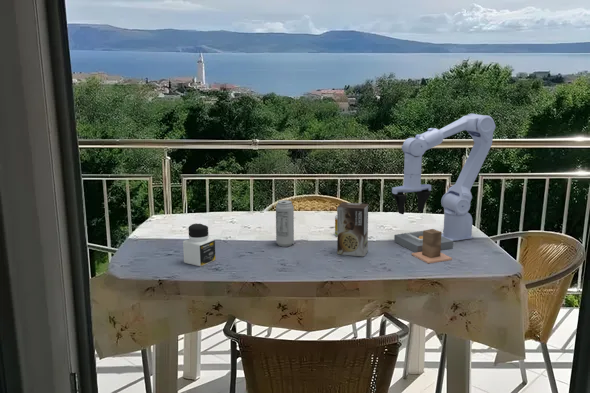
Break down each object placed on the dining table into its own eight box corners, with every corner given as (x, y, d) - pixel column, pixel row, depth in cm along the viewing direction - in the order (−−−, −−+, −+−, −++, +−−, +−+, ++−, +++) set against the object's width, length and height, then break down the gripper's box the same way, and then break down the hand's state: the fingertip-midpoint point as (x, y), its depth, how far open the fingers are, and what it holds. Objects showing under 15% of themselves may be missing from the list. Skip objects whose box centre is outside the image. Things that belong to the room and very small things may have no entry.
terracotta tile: (434, 251, 187) (434, 249, 187) (452, 259, 179) (452, 258, 179) (411, 254, 184) (411, 253, 184) (428, 263, 176) (428, 261, 176)
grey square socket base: (427, 237, 203) (428, 227, 202) (452, 248, 190) (453, 238, 190) (394, 241, 198) (394, 231, 197) (417, 253, 185) (417, 243, 184)
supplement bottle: (348, 237, 203) (349, 211, 200) (333, 237, 204) (334, 210, 201) (350, 233, 208) (351, 207, 206) (335, 232, 209) (336, 207, 207)
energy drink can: (297, 244, 195) (297, 201, 192) (285, 248, 191) (284, 204, 188) (284, 240, 199) (284, 199, 196) (272, 244, 195) (272, 202, 192)
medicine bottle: (200, 267, 174) (199, 229, 171) (183, 262, 177) (181, 225, 175) (216, 260, 180) (214, 223, 177) (198, 256, 183) (197, 220, 181)
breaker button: (424, 242, 196) (424, 235, 195) (429, 244, 193) (429, 237, 193) (416, 243, 195) (416, 236, 194) (421, 245, 192) (422, 238, 192)
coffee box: (368, 251, 188) (369, 203, 184) (363, 257, 182) (365, 208, 178) (341, 248, 191) (341, 201, 187) (336, 254, 185) (336, 206, 181)
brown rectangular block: (431, 252, 184) (432, 228, 182) (440, 256, 181) (441, 231, 179) (422, 254, 182) (423, 230, 180) (430, 258, 179) (432, 233, 177)
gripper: (423, 170, 199) (421, 207, 202) (387, 173, 193) (386, 211, 196) (435, 173, 192) (433, 212, 195) (399, 176, 187) (397, 216, 190)
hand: (410, 212), depth 196 cm, fingers open, 7 cm apart
